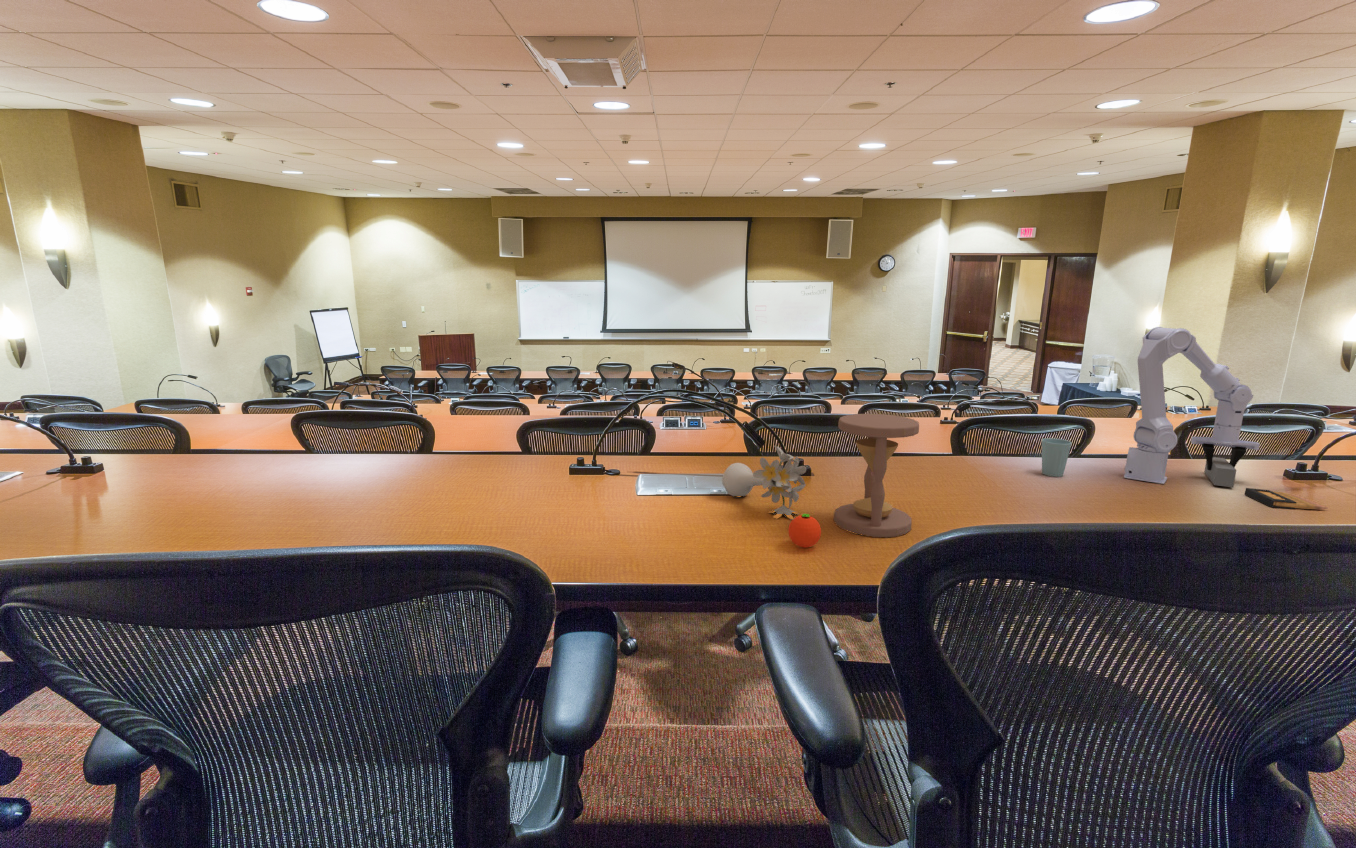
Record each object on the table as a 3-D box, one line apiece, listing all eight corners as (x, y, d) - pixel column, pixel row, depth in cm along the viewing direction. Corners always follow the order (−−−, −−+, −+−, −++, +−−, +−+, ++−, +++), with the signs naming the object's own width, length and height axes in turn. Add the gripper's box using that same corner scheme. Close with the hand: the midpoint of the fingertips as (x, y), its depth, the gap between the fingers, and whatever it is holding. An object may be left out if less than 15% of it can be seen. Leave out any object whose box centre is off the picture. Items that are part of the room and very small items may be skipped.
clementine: (790, 536, 134) (791, 506, 133) (821, 540, 132) (823, 509, 131) (785, 550, 127) (787, 519, 125) (819, 554, 125) (821, 522, 123)
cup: (1056, 470, 186) (1060, 437, 184) (1073, 477, 178) (1077, 443, 176) (1032, 471, 186) (1036, 438, 183) (1048, 478, 178) (1052, 444, 176)
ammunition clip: (1271, 507, 152) (1329, 512, 149) (1273, 500, 151) (1331, 505, 148) (1244, 494, 162) (1298, 499, 159) (1245, 487, 161) (1299, 492, 159)
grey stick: (1214, 485, 168) (1217, 467, 168) (1204, 472, 183) (1206, 456, 182) (1233, 487, 166) (1236, 469, 165) (1221, 474, 181) (1224, 458, 180)
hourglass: (839, 507, 153) (844, 411, 148) (912, 516, 147) (920, 416, 142) (828, 531, 137) (833, 424, 132) (909, 542, 131) (918, 430, 126)
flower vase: (724, 522, 162) (787, 527, 141) (704, 458, 161) (764, 452, 139) (759, 504, 169) (824, 506, 148) (740, 442, 168) (803, 435, 146)
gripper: (1196, 424, 173) (1188, 470, 175) (1265, 430, 165) (1256, 477, 167) (1193, 420, 178) (1185, 464, 181) (1259, 425, 170) (1250, 471, 173)
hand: (1219, 470), depth 175 cm, fingers closed on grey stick, 4 cm apart
